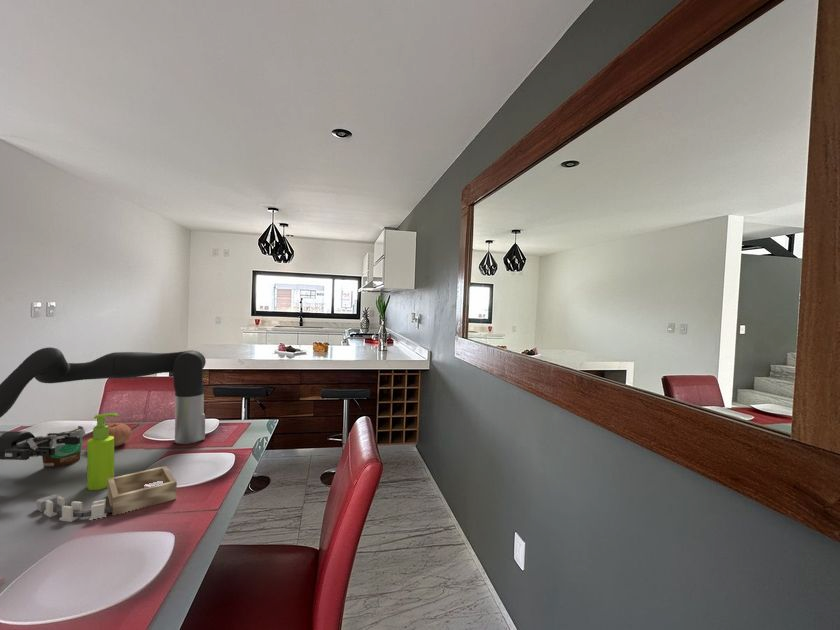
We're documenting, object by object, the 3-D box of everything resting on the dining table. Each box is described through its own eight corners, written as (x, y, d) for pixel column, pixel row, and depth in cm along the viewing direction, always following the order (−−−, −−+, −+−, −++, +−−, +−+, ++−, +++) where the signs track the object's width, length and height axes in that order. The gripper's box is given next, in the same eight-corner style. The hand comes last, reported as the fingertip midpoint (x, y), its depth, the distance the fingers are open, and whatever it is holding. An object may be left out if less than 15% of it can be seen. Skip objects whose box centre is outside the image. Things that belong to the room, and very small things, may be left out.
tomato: (128, 438, 149) (128, 417, 149) (133, 446, 142) (133, 424, 141) (90, 445, 142) (90, 423, 141) (94, 454, 134) (94, 430, 134)
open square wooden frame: (166, 481, 116) (166, 465, 115) (176, 498, 106) (176, 481, 106) (107, 495, 107) (107, 478, 106) (112, 516, 97) (112, 497, 97)
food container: (54, 472, 119) (54, 439, 119) (38, 470, 121) (37, 437, 120) (95, 456, 132) (95, 426, 131) (80, 455, 133) (80, 425, 132)
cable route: (51, 502, 102) (51, 490, 102) (115, 512, 98) (115, 499, 98) (24, 514, 96) (24, 501, 96) (91, 525, 92) (91, 511, 92)
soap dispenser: (117, 486, 112) (117, 415, 111) (85, 491, 108) (85, 418, 108) (119, 478, 117) (120, 410, 116) (89, 483, 113) (89, 413, 113)
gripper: (30, 449, 118) (87, 449, 119) (-21, 469, 104) (44, 469, 105) (30, 424, 118) (87, 424, 119) (-21, 440, 104) (44, 441, 104)
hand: (66, 445), depth 112 cm, fingers open, 8 cm apart
